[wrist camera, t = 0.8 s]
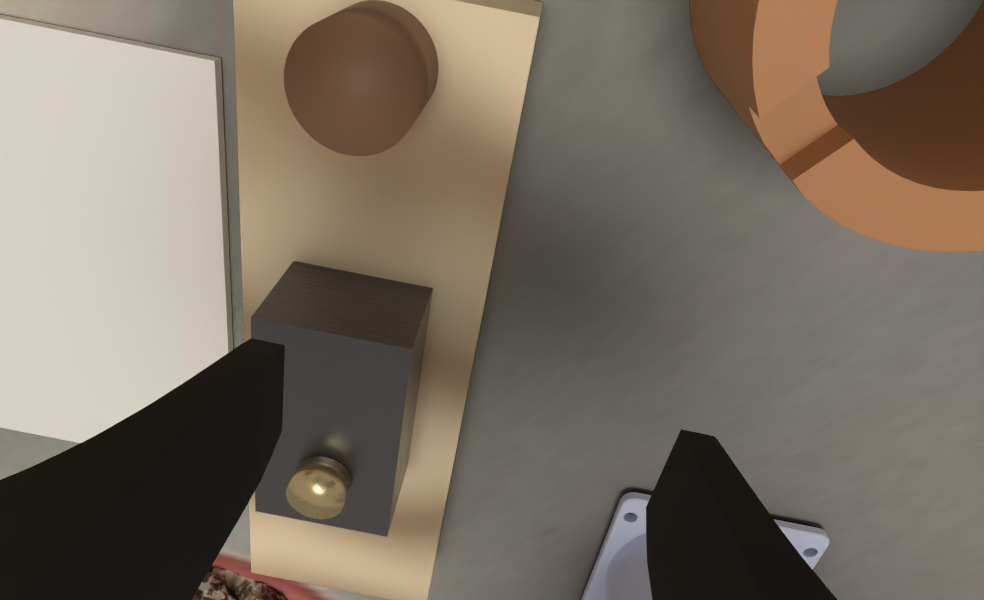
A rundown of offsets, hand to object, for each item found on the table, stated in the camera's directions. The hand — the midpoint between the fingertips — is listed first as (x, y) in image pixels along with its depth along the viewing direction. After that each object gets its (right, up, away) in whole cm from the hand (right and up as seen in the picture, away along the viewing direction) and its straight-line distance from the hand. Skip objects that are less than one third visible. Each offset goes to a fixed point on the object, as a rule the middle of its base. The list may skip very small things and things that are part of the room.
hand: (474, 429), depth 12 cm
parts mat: (-13, +3, +11) cm, 17 cm away
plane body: (-4, +1, +11) cm, 11 cm away
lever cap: (-4, 0, +9) cm, 9 cm away
